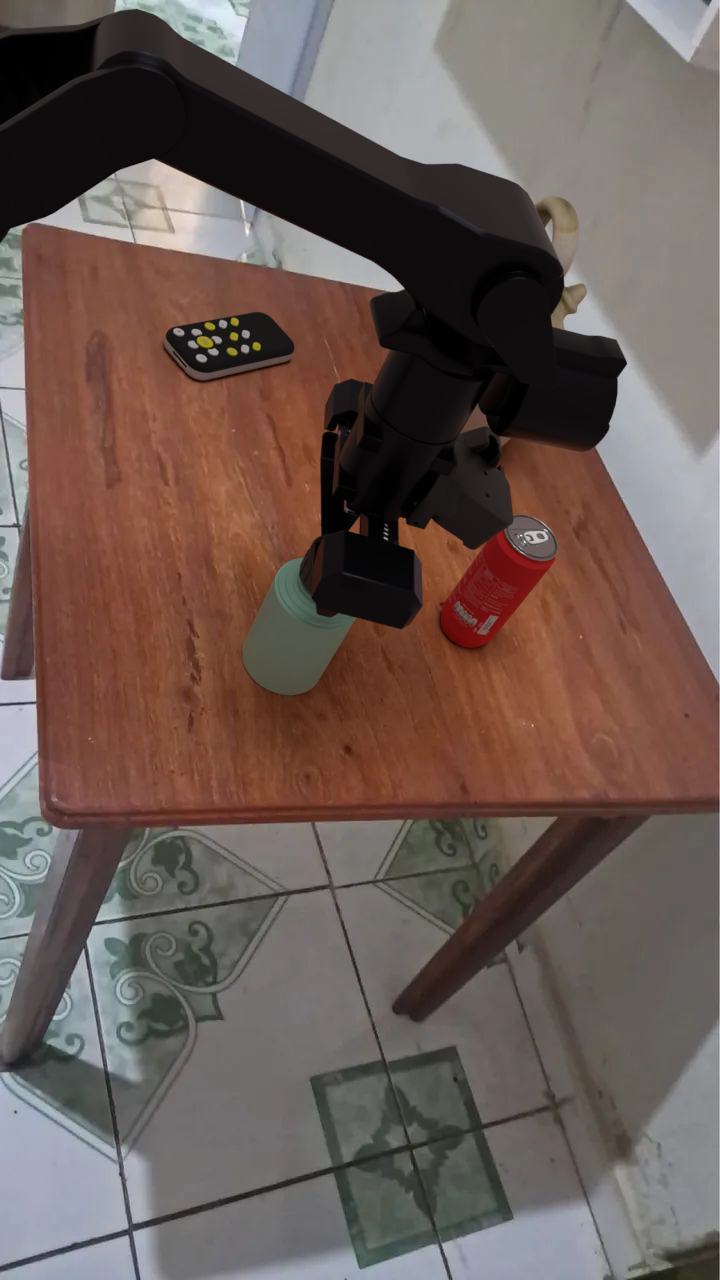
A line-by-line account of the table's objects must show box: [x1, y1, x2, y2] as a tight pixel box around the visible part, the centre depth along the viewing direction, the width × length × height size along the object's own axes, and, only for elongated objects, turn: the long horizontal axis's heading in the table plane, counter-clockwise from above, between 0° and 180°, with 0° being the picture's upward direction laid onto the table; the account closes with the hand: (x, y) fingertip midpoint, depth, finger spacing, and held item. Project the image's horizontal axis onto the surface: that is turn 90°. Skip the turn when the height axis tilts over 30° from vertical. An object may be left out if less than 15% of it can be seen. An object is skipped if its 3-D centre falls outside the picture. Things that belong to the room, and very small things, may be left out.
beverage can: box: [440, 513, 559, 649], centre depth 78 cm, size 5×5×12 cm
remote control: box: [163, 311, 295, 381], centre depth 92 cm, size 6×13×2 cm, turn 131°
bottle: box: [241, 557, 357, 696], centre depth 69 cm, size 6×6×12 cm
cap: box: [299, 534, 329, 593], centre depth 65 cm, size 4×4×3 cm
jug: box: [460, 195, 588, 448], centre depth 90 cm, size 15×16×25 cm
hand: (326, 578), depth 66 cm, fingers open, 6 cm apart
